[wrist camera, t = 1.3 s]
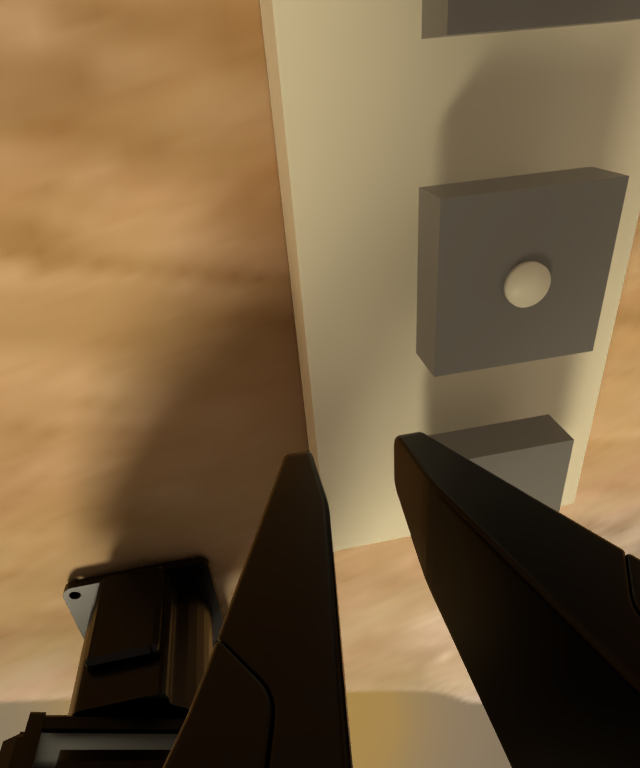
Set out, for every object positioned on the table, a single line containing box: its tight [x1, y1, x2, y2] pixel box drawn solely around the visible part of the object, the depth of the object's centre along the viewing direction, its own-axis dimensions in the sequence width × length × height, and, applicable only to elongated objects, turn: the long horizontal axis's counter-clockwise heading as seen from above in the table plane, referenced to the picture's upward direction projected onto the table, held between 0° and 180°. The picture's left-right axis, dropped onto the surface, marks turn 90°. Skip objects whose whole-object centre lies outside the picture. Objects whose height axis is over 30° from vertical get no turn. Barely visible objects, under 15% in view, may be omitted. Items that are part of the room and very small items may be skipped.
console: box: [260, 0, 640, 551], centre depth 18 cm, size 24×11×3 cm, turn 4°
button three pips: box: [428, 414, 574, 512], centre depth 19 cm, size 5×5×2 cm
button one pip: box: [416, 167, 629, 377], centre depth 14 cm, size 5×5×2 cm
